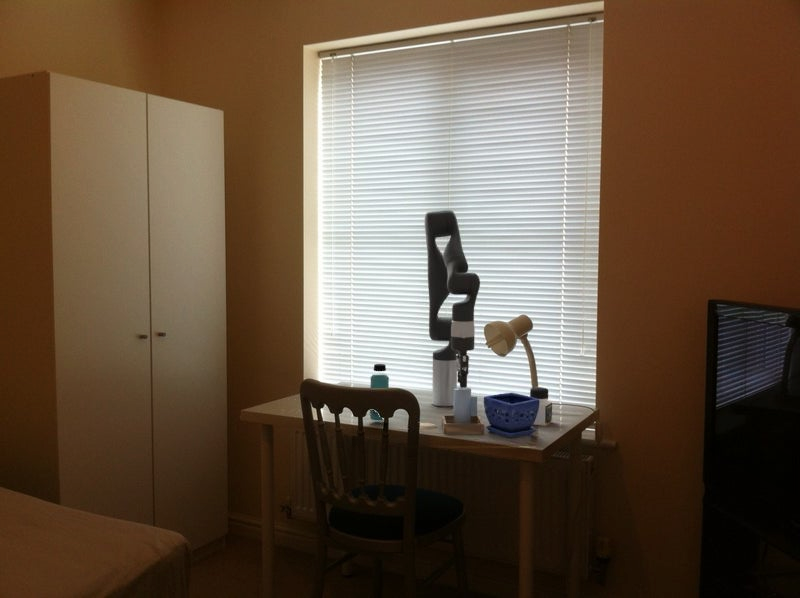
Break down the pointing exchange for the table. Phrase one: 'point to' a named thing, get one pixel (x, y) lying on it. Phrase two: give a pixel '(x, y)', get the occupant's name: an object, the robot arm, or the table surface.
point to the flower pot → (511, 414)
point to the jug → (464, 405)
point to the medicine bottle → (542, 406)
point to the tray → (462, 425)
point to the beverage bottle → (378, 385)
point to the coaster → (427, 426)
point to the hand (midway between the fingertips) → (462, 384)
